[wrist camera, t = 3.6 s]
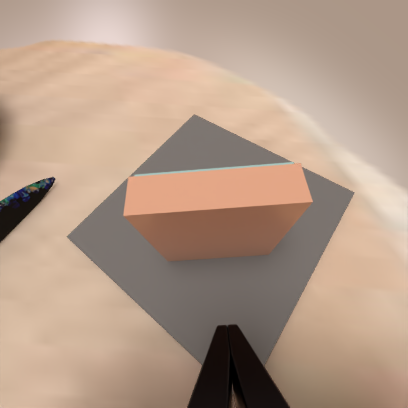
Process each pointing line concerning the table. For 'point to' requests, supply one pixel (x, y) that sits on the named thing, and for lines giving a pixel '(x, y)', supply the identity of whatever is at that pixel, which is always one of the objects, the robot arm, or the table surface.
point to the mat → (217, 267)
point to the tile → (217, 209)
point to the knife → (21, 204)
